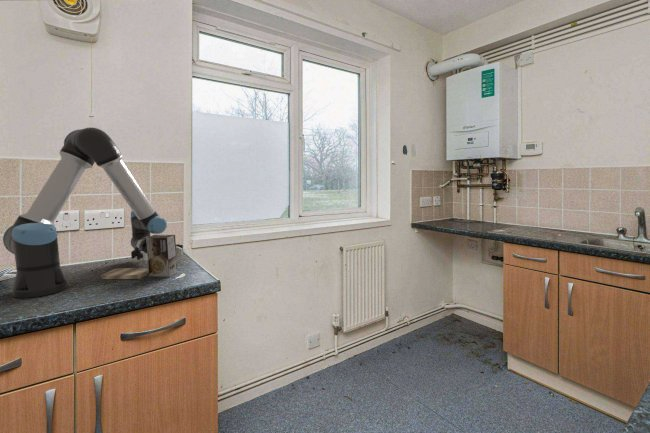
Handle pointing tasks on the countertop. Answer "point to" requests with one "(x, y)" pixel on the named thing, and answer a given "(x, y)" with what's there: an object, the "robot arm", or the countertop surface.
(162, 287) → the countertop surface
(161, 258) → the coffee box
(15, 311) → the countertop surface
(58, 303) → the countertop surface
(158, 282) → the countertop surface
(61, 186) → the robot arm
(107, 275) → the birch board
